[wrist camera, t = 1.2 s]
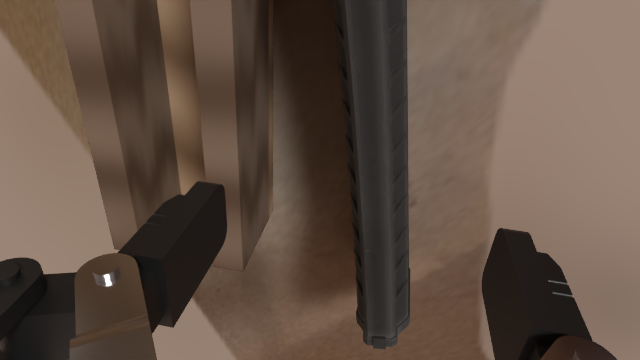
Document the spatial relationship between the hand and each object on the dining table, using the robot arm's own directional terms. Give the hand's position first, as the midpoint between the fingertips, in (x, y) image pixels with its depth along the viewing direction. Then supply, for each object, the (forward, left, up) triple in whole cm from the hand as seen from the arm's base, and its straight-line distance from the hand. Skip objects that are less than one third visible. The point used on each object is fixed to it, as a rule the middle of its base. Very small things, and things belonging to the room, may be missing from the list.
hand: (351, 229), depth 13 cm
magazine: (0, 0, -17) cm, 17 cm away
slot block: (0, -12, -17) cm, 20 cm away
